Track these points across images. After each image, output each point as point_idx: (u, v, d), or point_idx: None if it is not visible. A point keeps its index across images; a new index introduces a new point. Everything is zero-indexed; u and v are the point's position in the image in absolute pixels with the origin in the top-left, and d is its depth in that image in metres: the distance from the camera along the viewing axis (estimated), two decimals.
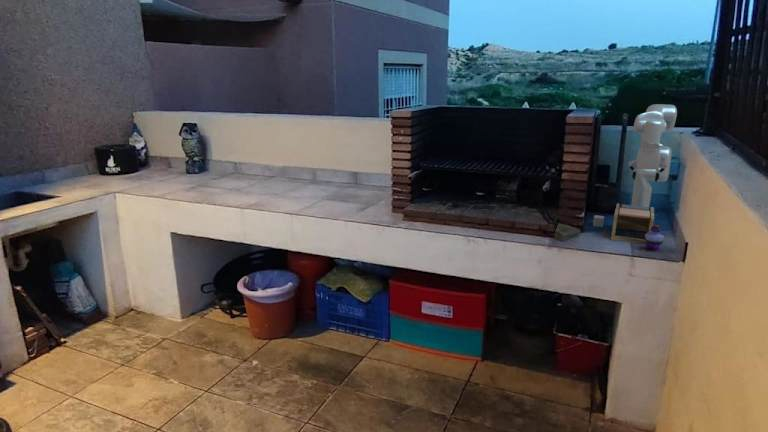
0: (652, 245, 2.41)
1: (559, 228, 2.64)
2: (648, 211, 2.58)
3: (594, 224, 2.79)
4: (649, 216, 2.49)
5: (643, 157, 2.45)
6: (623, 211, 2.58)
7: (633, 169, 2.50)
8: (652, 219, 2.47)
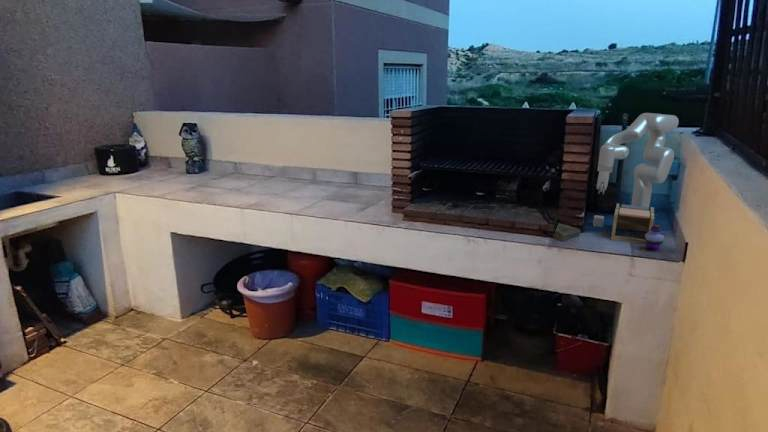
0: (652, 245, 2.41)
1: (559, 228, 2.64)
2: (648, 211, 2.58)
3: (594, 224, 2.79)
4: (649, 216, 2.49)
5: (608, 179, 2.69)
6: (623, 211, 2.58)
7: (603, 192, 2.69)
8: (652, 219, 2.47)
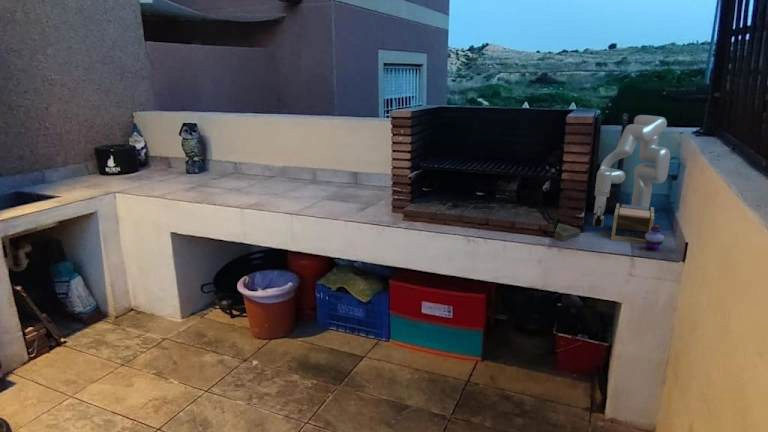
0: (652, 245, 2.41)
1: (559, 228, 2.64)
2: (648, 211, 2.58)
3: (594, 224, 2.79)
4: (649, 216, 2.49)
5: (605, 203, 2.73)
6: (623, 211, 2.58)
7: (600, 217, 2.75)
8: (652, 219, 2.47)
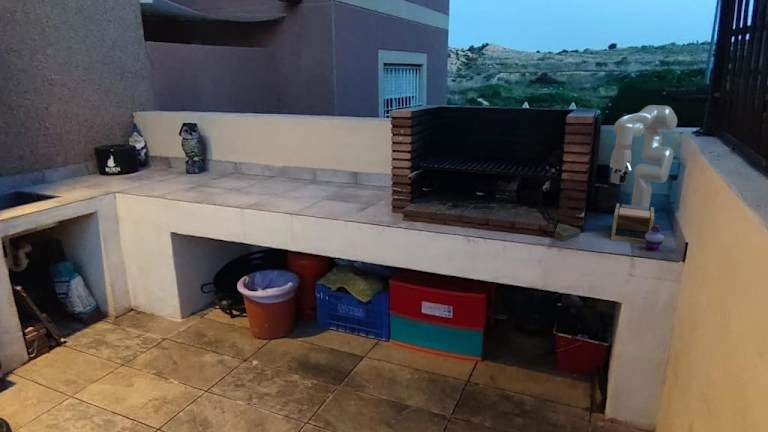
0: (652, 245, 2.41)
1: (559, 228, 2.64)
2: (648, 211, 2.58)
3: (618, 182, 2.60)
4: (649, 216, 2.49)
5: None
6: (623, 211, 2.58)
7: (627, 173, 2.58)
8: (652, 219, 2.47)
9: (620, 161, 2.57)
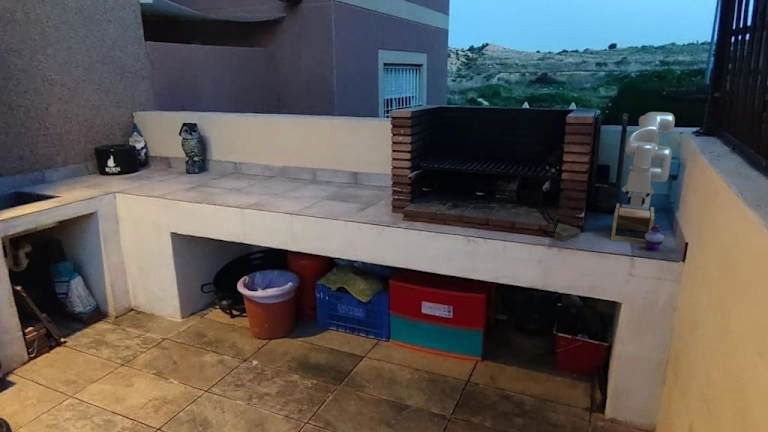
0: (652, 245, 2.41)
1: (559, 228, 2.64)
2: (648, 211, 2.58)
3: None
4: (649, 216, 2.49)
5: None
6: (623, 211, 2.58)
7: None
8: (652, 219, 2.47)
9: (644, 184, 2.46)
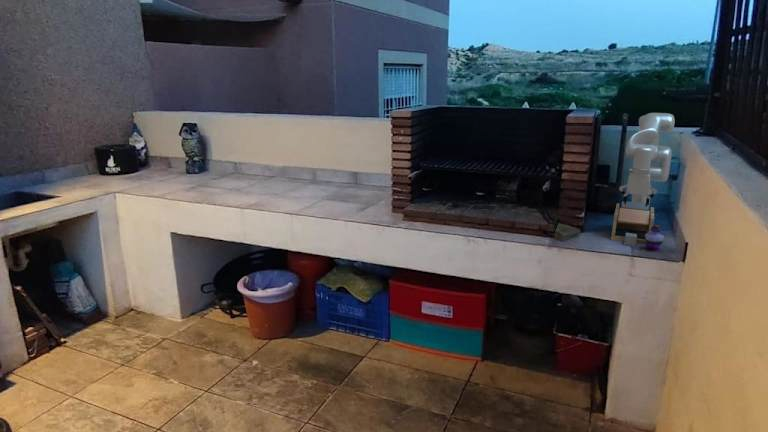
0: (652, 245, 2.41)
1: (559, 228, 2.64)
2: (648, 212, 2.58)
3: (636, 236, 2.50)
4: (648, 223, 2.51)
5: None
6: (622, 215, 2.59)
7: None
8: (652, 219, 2.47)
9: (644, 186, 2.47)
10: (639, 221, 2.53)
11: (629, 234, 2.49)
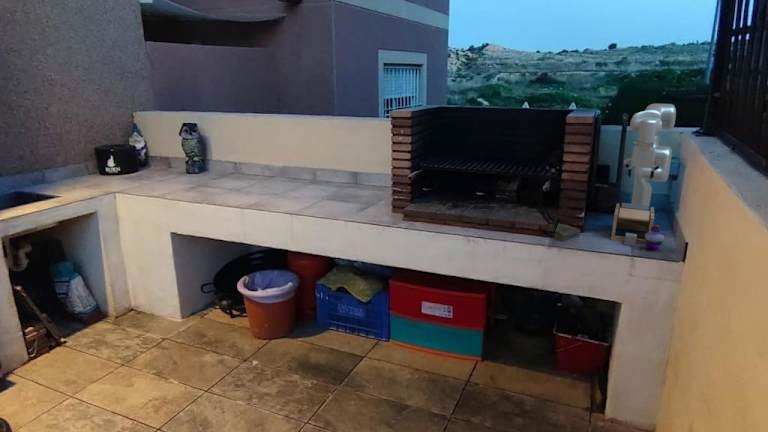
0: (652, 245, 2.41)
1: (559, 228, 2.64)
2: (648, 211, 2.58)
3: (636, 236, 2.50)
4: (648, 219, 2.50)
5: None
6: (623, 213, 2.58)
7: (654, 168, 2.51)
8: (652, 219, 2.47)
9: (648, 159, 2.47)
10: (640, 218, 2.52)
11: (629, 234, 2.49)
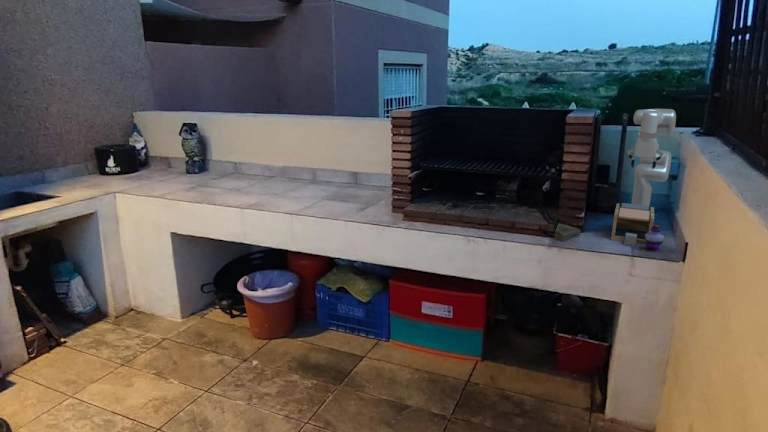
0: (652, 245, 2.41)
1: (559, 228, 2.64)
2: (648, 211, 2.58)
3: (636, 236, 2.50)
4: None
5: None
6: (623, 213, 2.58)
7: None
8: (652, 219, 2.47)
9: (651, 150, 2.61)
10: (640, 217, 2.52)
11: (629, 234, 2.49)
